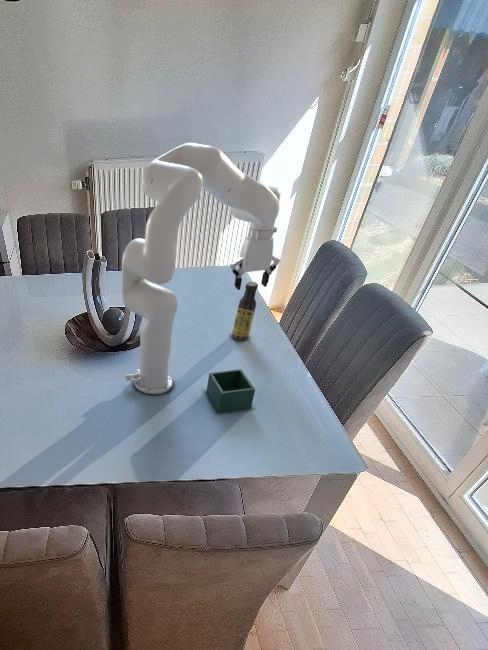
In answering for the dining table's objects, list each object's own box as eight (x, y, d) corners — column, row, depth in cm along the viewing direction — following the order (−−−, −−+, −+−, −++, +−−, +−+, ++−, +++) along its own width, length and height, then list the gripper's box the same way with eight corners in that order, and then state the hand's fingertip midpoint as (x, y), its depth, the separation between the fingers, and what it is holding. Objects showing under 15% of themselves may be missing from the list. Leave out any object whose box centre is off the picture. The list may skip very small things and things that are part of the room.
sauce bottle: (229, 338, 172) (238, 285, 158) (234, 331, 176) (244, 278, 162) (246, 342, 170) (257, 288, 156) (251, 335, 174) (262, 281, 160)
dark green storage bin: (218, 412, 141) (221, 393, 136) (206, 391, 149) (209, 372, 144) (250, 408, 142) (255, 389, 137) (237, 387, 150) (241, 369, 145)
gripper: (280, 226, 151) (269, 280, 163) (230, 231, 149) (223, 285, 162) (291, 234, 146) (278, 288, 158) (239, 239, 144) (230, 294, 157)
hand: (250, 286), depth 160 cm, fingers open, 9 cm apart
